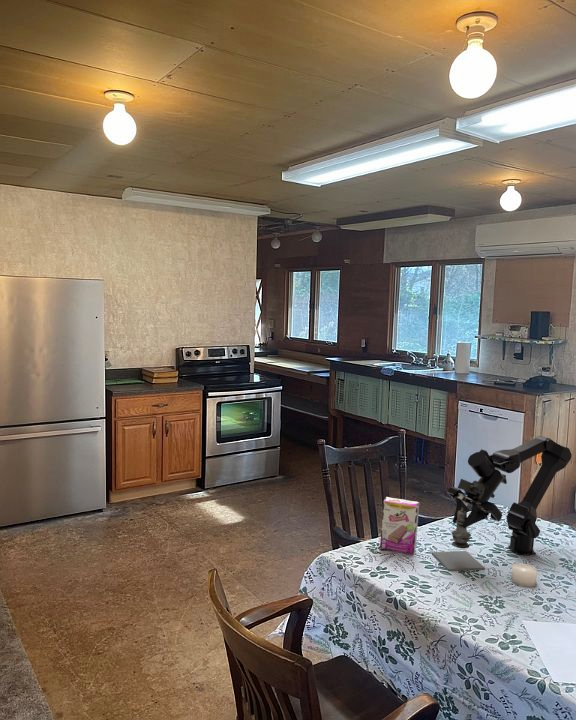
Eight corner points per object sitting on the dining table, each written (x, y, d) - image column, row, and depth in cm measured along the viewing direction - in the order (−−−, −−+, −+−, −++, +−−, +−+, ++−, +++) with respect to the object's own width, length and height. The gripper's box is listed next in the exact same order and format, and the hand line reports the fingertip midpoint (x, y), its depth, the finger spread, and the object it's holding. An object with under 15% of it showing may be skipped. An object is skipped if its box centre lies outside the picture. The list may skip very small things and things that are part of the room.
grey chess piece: (457, 549, 178) (458, 511, 177) (447, 541, 183) (449, 504, 182) (474, 548, 179) (476, 510, 178) (464, 540, 185) (466, 503, 184)
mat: (466, 552, 191) (466, 551, 191) (484, 569, 180) (484, 567, 179) (431, 553, 189) (431, 552, 189) (448, 570, 177) (448, 569, 177)
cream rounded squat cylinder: (527, 575, 177) (528, 562, 177) (541, 586, 170) (542, 573, 170) (506, 576, 176) (507, 563, 176) (519, 587, 169) (520, 574, 169)
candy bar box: (379, 549, 191) (382, 500, 189) (382, 543, 195) (385, 496, 194) (414, 555, 187) (417, 506, 185) (416, 549, 192) (419, 501, 190)
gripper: (452, 462, 189) (424, 500, 185) (497, 478, 172) (467, 520, 169) (469, 482, 193) (442, 520, 190) (514, 500, 177) (486, 542, 173)
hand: (458, 525), depth 180 cm, fingers closed on grey chess piece, 4 cm apart
